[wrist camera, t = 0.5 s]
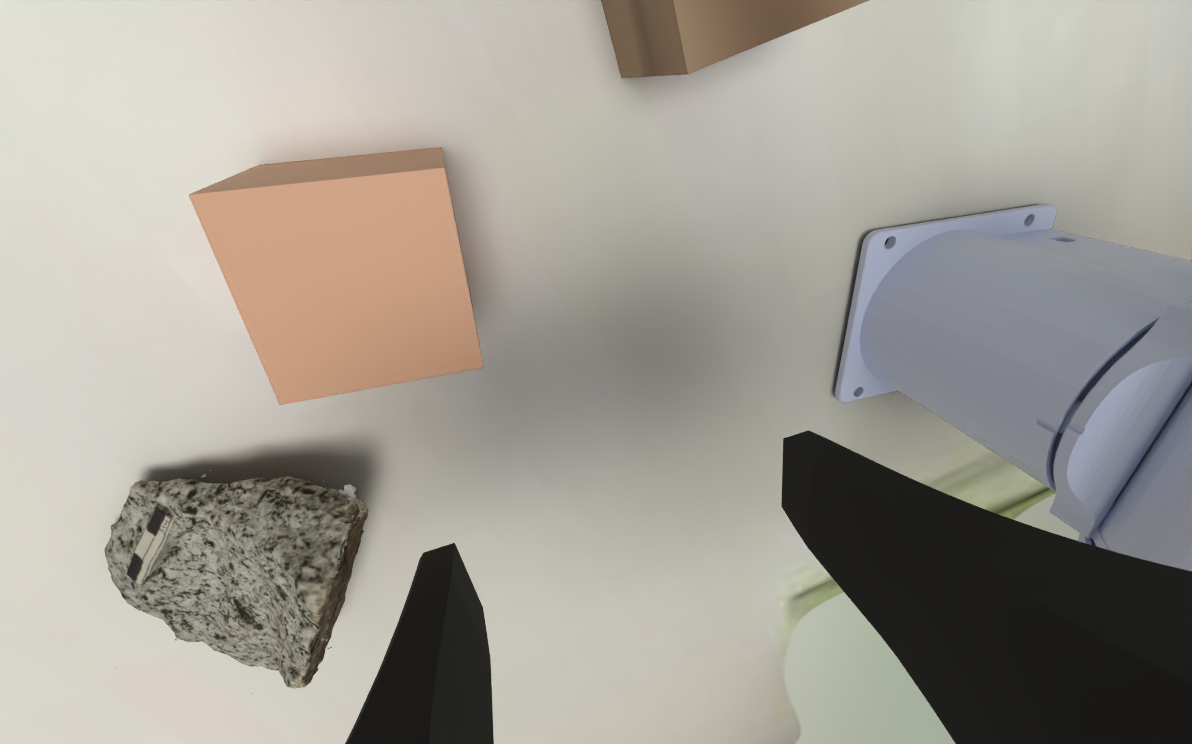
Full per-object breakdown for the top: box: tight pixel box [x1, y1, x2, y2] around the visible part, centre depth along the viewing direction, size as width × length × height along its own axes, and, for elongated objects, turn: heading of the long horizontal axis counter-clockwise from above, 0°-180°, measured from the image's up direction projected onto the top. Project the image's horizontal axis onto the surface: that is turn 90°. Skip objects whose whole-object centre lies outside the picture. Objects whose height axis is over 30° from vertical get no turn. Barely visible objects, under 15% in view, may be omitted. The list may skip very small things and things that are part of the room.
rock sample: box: [105, 469, 368, 694], centre depth 18 cm, size 10×8×9 cm
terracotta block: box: [189, 147, 484, 405], centre depth 14 cm, size 5×5×5 cm
